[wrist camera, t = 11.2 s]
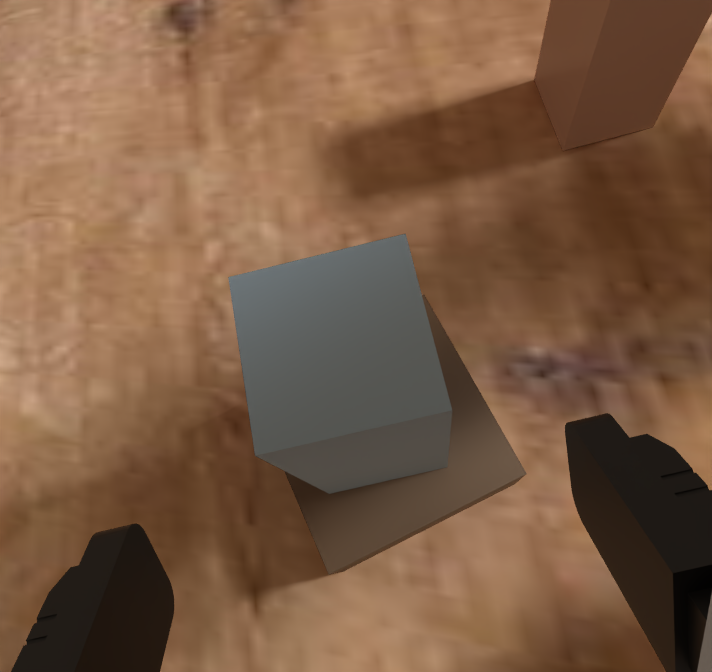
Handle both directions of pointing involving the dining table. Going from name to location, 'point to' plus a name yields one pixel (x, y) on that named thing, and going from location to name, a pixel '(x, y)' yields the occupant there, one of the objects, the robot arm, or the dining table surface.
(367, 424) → the blue pillar
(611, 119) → the terracotta pillar
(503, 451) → the walnut plinth
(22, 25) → the dining table surface
